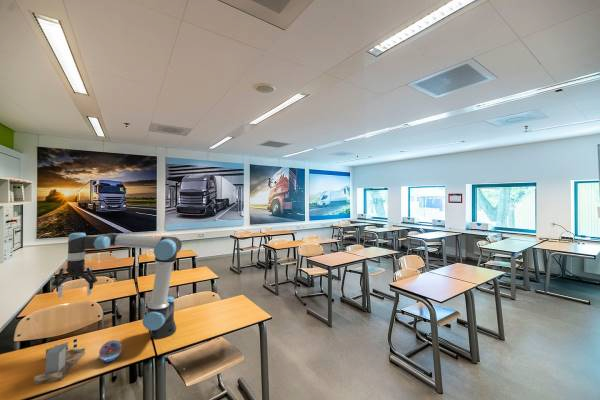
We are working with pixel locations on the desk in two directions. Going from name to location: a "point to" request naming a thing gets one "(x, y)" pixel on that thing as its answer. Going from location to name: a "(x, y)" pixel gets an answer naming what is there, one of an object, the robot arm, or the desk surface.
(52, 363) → the frame block
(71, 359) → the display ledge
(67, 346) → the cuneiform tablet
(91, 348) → the desk surface
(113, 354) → the cell model
